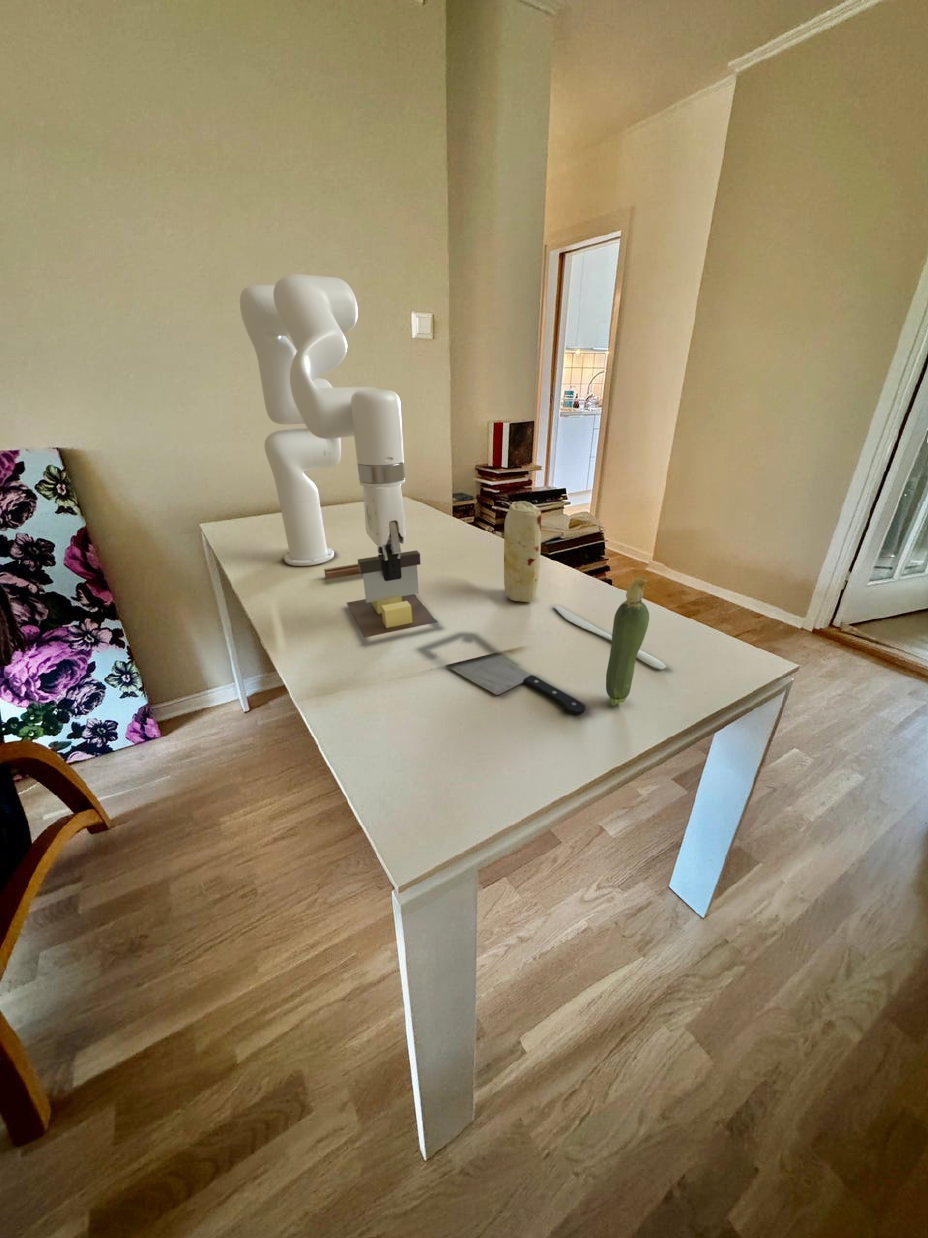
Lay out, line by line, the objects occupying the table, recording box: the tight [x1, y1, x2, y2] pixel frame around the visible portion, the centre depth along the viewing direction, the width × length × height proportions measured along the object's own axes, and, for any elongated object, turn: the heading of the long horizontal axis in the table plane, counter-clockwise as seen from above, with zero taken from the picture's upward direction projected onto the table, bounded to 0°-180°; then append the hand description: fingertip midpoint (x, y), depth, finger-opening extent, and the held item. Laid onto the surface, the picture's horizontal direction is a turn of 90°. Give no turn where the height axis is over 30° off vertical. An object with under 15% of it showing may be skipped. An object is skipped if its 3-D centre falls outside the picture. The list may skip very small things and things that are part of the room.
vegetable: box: [605, 576, 650, 706], centre depth 65 cm, size 4×4×20 cm
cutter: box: [357, 550, 421, 603], centre depth 87 cm, size 2×11×8 cm, turn 113°
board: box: [346, 594, 438, 638], centre depth 94 cm, size 16×14×2 cm
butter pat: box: [381, 601, 412, 628], centre depth 89 cm, size 2×5×4 cm, turn 114°
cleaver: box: [445, 652, 586, 715], centre depth 76 cm, size 29×1×10 cm
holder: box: [323, 563, 362, 580], centre depth 114 cm, size 3×13×2 cm, turn 114°
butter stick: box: [372, 597, 402, 614], centre depth 95 cm, size 5×5×4 cm
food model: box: [503, 500, 542, 603], centre depth 98 cm, size 10×7×20 cm
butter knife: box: [554, 605, 667, 670], centre depth 87 cm, size 1×27×3 cm
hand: (390, 576), depth 87 cm, fingers closed on cutter, 2 cm apart
